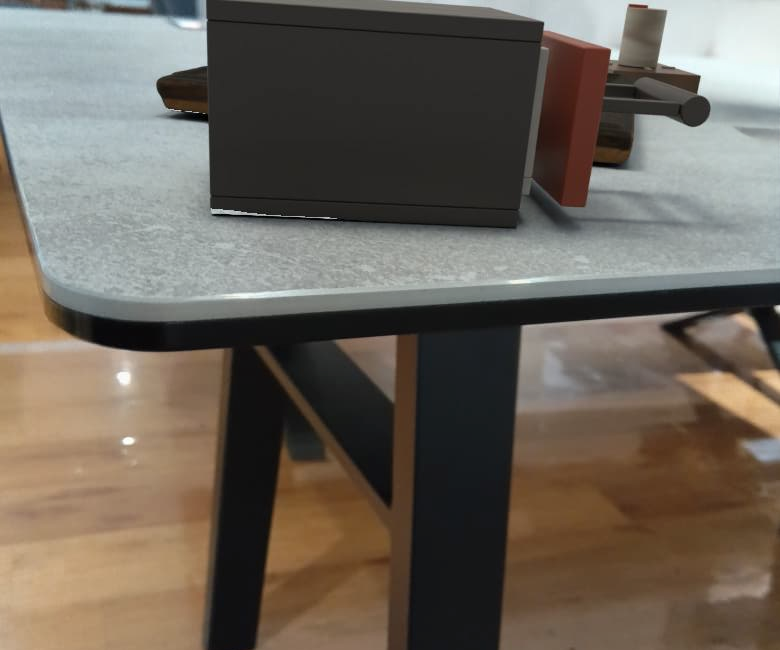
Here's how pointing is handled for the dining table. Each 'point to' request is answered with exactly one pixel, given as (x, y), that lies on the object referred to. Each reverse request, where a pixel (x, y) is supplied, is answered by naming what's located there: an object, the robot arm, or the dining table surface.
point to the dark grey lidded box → (370, 109)
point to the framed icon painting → (611, 142)
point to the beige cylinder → (642, 36)
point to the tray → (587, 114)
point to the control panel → (659, 75)
